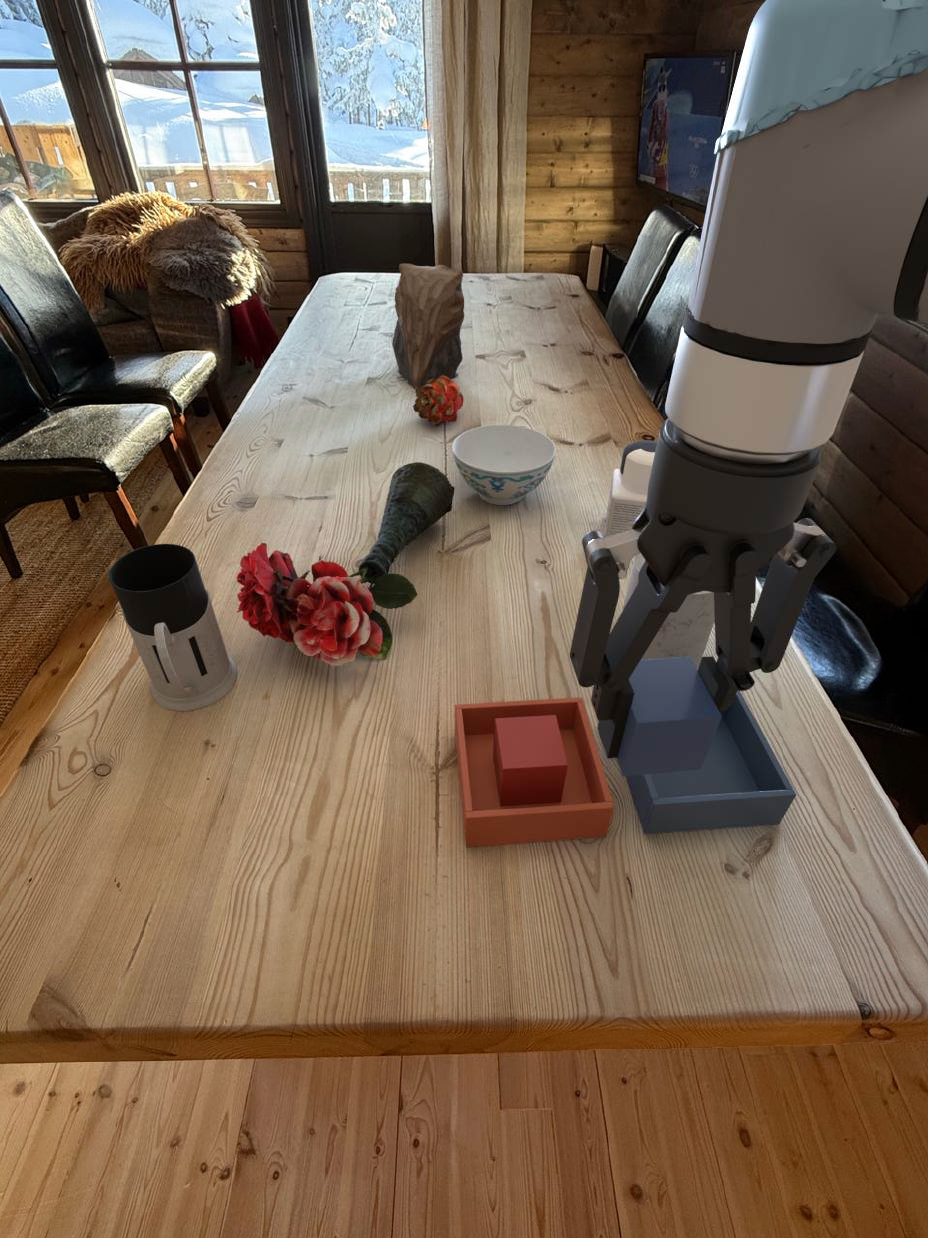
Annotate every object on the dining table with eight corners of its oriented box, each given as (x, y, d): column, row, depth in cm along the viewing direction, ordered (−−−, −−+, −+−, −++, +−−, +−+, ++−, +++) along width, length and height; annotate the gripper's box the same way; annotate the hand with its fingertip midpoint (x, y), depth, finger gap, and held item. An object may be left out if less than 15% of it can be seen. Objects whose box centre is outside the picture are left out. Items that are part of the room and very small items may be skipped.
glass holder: (233, 644, 74) (199, 532, 65) (247, 737, 64) (210, 622, 55) (150, 662, 72) (103, 549, 62) (152, 762, 62) (95, 647, 52)
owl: (391, 367, 139) (385, 262, 126) (446, 359, 143) (445, 257, 130) (412, 389, 130) (408, 279, 117) (470, 380, 134) (472, 272, 121)
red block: (561, 802, 59) (568, 765, 55) (500, 806, 58) (503, 769, 55) (550, 752, 63) (555, 714, 59) (492, 756, 62) (495, 718, 59)
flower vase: (414, 563, 99) (323, 731, 72) (319, 478, 94) (182, 624, 67) (484, 501, 90) (410, 666, 63) (382, 403, 85) (254, 538, 58)
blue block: (701, 770, 45) (722, 716, 41) (622, 776, 44) (637, 723, 41) (673, 709, 49) (690, 655, 45) (601, 715, 48) (612, 661, 45)
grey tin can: (716, 652, 74) (748, 564, 66) (672, 697, 69) (702, 607, 61) (643, 613, 79) (664, 527, 71) (597, 653, 74) (615, 564, 66)
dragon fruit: (425, 443, 116) (442, 424, 126) (465, 419, 112) (479, 401, 122) (398, 401, 113) (417, 385, 123) (437, 374, 109) (453, 360, 119)
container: (605, 515, 96) (620, 431, 87) (660, 521, 95) (680, 437, 86) (603, 545, 90) (619, 458, 82) (661, 552, 89) (683, 464, 80)
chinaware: (471, 527, 93) (472, 479, 88) (440, 478, 104) (439, 431, 99) (567, 510, 97) (573, 462, 92) (527, 464, 107) (531, 418, 102)
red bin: (606, 837, 57) (614, 807, 54) (465, 847, 56) (466, 818, 53) (576, 727, 66) (582, 696, 63) (454, 734, 65) (454, 704, 62)
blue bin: (779, 824, 58) (797, 795, 55) (643, 834, 57) (654, 805, 54) (726, 718, 67) (738, 687, 64) (608, 725, 66) (615, 694, 63)
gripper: (879, 390, 35) (752, 690, 50) (536, 404, 33) (512, 709, 49) (977, 455, 29) (800, 771, 44) (570, 475, 28) (531, 796, 43)
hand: (650, 738), depth 46 cm, fingers closed on blue block, 5 cm apart
